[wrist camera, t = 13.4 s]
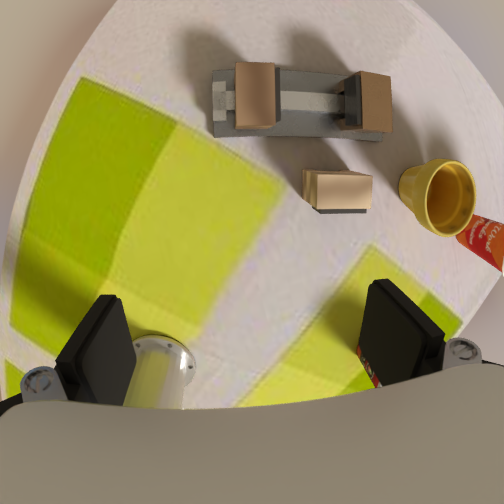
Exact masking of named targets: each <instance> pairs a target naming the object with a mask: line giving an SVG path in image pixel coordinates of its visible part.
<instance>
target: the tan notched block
mask: <svg viewBox="0 0 504 504" xmlns="http://www.w3.org/2000/svg"><path fill="white" fill-rule="evenodd" d="M372 179H373V176H370V175H366V174H362V173H358V172H354V171H349V170H340V171H317V170H302V199H304V200H305V201H306V202H308V203H309V204H311V205H312V208H313V209H315V210H316V211H317V212H319V213H320V214H338V213H366V209H371V198H372Z"/></svg>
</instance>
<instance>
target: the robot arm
mask: <svg viewBox="0 0 504 504" xmlns="http://www.w3.org/2000/svg"><path fill="white" fill-rule="evenodd" d="M444 336H445V333H444V332H443V331H442V330H441V329H440V328H439V327H438V326H437V325H436V324H435V323H434V322H433V321H432V320H431V319H430V318H429V317H428V316H427V315H426V314H425V313H424V312H423V311H422V310H421V309H420V308H419V307H418V306H417V305H416V304H415V303H414V302H413V301H412V300H411V299H410V298H409V297H408V296H406V295H405V294H404V293H403V292H402V291H401V290H400V289H399V288H398V287H397V286H396V285H395V284H394V283H393V282H391V281H390V280H389V279H379V280H374V281H373V283H372V284H370V285H369V287H368V293H367V299H366V305H365V311H364V317H363V322H362V327H361V332H360V337H359V348H360V350H361V352H362V353H363V355H364V357H365V358H366V360H367V362H368V363H369V365H370V367H371V368H372V370H373V372H374V373H375V375H376V377H377V378H378V380H379V382H380V384H381V385H382V387H378V388H373V389H369V390H364V391H360V392H355V393H350V394H344V395H339V396H333V397H328V398H321V399H315V400H308V401H301V402H293V403H285V404H275V405H265V406H253V407H238V408H214V409H182V402H183V394H184V387H185V386H187V385H188V384H189V383H190V382H191V381H192V380H193V378H194V376H195V370H196V365H195V361H194V358H193V356H192V354H191V353H190V352H189V351H188V349H187V348H186V347H184V346H183V345H182V344H180V343H179V342H177V341H175V340H173V339H171V338H168V337H164V336H160V335H146V336H142V337H139V338H137V339H135V340H134V341H133V342H132V339H131V336H130V332H129V328H128V325H127V321H126V317H125V313H124V309H123V305H122V301H121V299H120V298H117V297H116V295H100V296H99V297H98V299H97V300H96V301H95V303H94V304H93V305H92V307H91V308H90V310H89V311H88V312H87V314H86V315H85V317H84V318H83V320H82V321H81V322H80V324H79V325H78V327H77V328H76V330H75V331H74V333H73V334H72V336H71V337H70V339H69V340H68V342H67V343H66V345H65V346H64V348H63V349H62V351H61V352H60V354H59V355H58V357H57V359H56V360H55V361H56V366H55V368H54V369H53V368H51V367H47V366H41V367H37V368H34V369H32V370H30V371H29V372H28V373H26V374H25V375H24V377H23V378H22V380H21V383H20V389H21V393H19V394H17V395H15V396H13V397H10V398H8V399H6V400H4V401H1V402H0V504H504V366H503V365H500V364H496V363H492V362H488V361H484V360H482V355H481V350H480V348H479V347H478V346H477V345H476V344H475V343H474V342H472V341H470V340H468V339H464V338H452V339H450V340H448V341H447V342H445V341H444V340H443V339H444Z"/></svg>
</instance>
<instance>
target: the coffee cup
mask: <svg viewBox="0 0 504 504" xmlns="http://www.w3.org/2000/svg"><path fill="white" fill-rule="evenodd" d="M456 238H457V240H458V242H459V243H461V244H462V245H463V246H465V247H466V248H468V249H469V250H471V251H472V252H474V253H475V254H476V255H478V256H479V257H481V258H482V259H484V260H485V261H487V262H488V263H489V264H491V265H492V266H494V267H495V268H497V269H498V270H499V271H501V272H502V273H503V276H504V224H502V223H499V222H496V221H493V220H490V219H487V218H484V217H481V216H477V215H474V214H473V215H472V217H471V219H470V221H469V223H468V225H467V226H466V227H465V228H464V229H463V230H462V231H461V232H460V233H458V234H457V235H456Z"/></svg>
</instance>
